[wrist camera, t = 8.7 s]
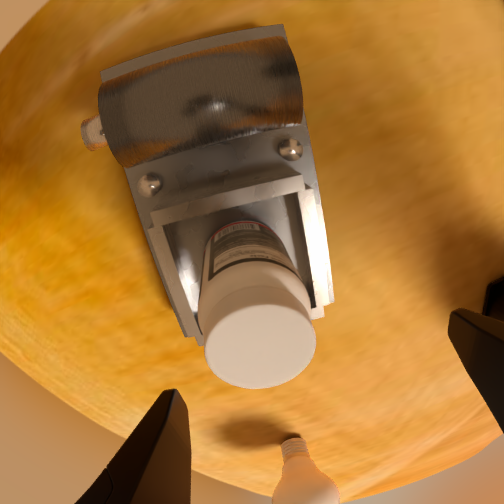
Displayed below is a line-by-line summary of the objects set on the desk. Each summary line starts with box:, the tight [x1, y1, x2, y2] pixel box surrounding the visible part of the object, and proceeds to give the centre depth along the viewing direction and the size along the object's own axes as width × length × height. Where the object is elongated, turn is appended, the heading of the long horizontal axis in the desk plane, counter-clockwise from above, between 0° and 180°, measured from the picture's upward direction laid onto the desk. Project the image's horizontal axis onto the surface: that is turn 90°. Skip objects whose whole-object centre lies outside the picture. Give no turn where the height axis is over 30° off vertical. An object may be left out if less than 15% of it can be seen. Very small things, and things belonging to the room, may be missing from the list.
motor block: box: [81, 24, 334, 346], centre depth 16 cm, size 17×11×7 cm, turn 13°
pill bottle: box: [198, 221, 316, 389], centre depth 15 cm, size 5×5×8 cm
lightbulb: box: [272, 438, 340, 504], centre depth 25 cm, size 6×6×11 cm
